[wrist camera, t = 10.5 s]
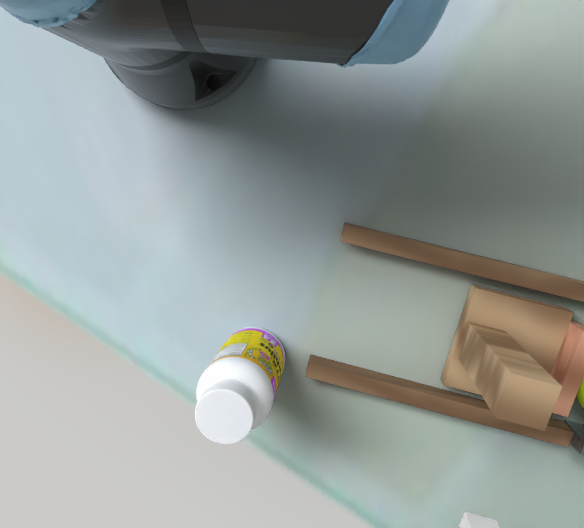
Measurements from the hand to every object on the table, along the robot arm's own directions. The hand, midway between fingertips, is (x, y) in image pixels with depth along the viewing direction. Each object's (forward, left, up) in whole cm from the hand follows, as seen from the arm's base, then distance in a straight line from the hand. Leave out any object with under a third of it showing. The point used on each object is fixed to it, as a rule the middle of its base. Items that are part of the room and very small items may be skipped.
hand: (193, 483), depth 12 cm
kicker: (+4, +21, -35) cm, 41 cm away
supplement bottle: (+12, -3, -35) cm, 37 cm away
